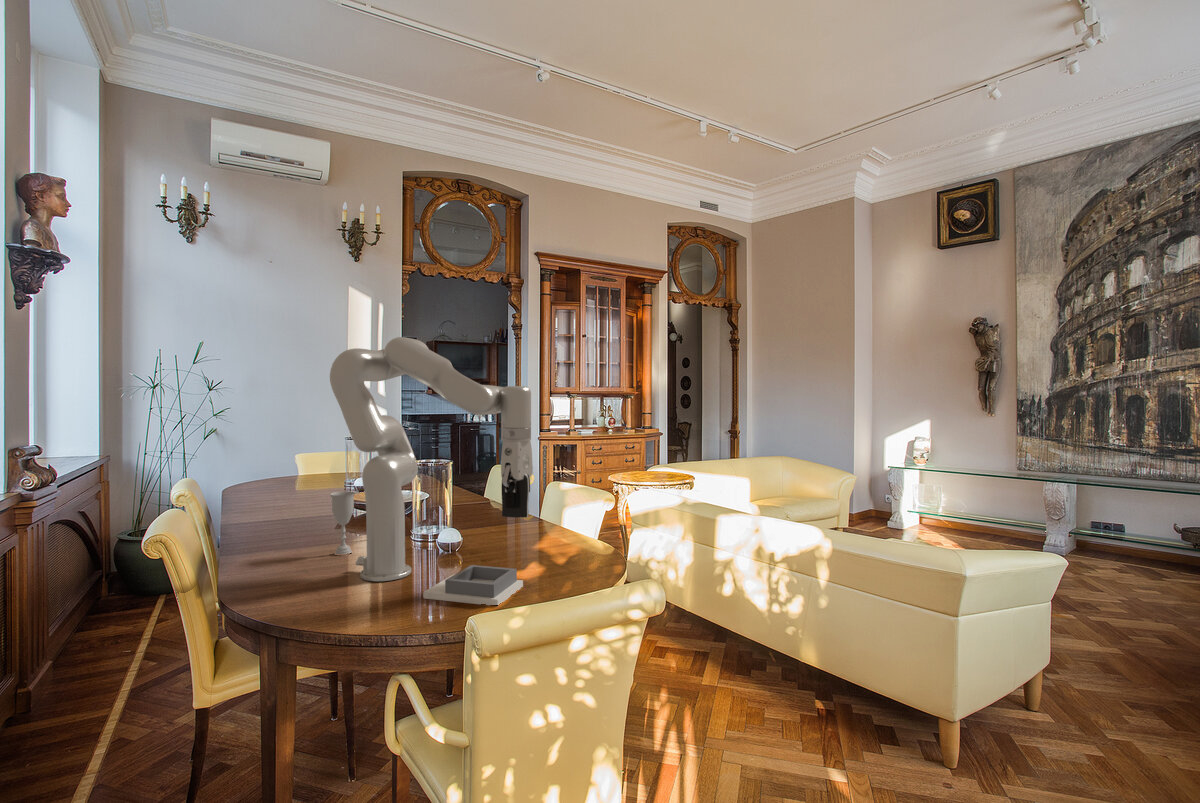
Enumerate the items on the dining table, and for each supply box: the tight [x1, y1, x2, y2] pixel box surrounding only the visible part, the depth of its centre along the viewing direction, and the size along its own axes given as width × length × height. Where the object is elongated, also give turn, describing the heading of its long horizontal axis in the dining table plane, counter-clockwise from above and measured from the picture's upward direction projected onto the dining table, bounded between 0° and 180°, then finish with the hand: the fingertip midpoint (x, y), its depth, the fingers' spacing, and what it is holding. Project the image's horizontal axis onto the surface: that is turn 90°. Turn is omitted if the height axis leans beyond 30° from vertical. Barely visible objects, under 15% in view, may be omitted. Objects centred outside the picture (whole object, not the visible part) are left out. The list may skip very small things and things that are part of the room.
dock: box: [422, 564, 524, 606], centre depth 143 cm, size 19×14×4 cm
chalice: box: [329, 490, 356, 554], centre depth 177 cm, size 7×7×18 cm
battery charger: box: [501, 474, 531, 519], centre depth 152 cm, size 7×4×11 cm, turn 81°
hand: (516, 505), depth 152 cm, fingers closed on battery charger, 4 cm apart
